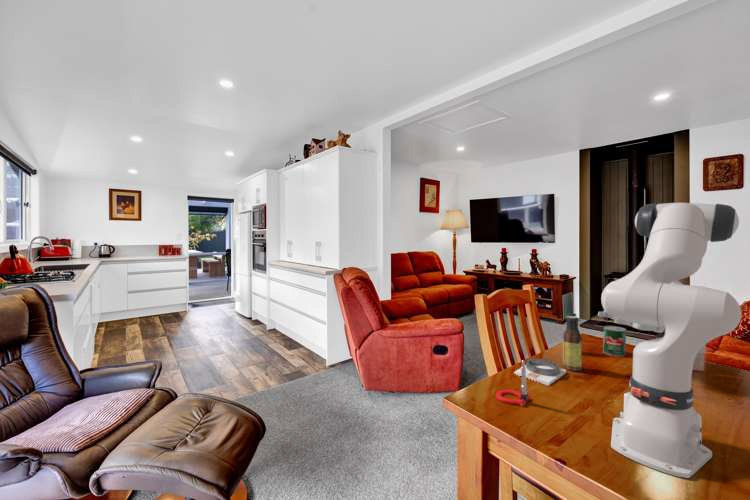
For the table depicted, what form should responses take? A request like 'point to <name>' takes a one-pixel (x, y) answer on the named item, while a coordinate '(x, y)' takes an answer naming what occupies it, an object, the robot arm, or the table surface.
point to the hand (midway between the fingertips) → (606, 317)
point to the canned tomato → (614, 340)
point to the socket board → (542, 377)
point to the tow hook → (523, 395)
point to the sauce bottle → (572, 345)
